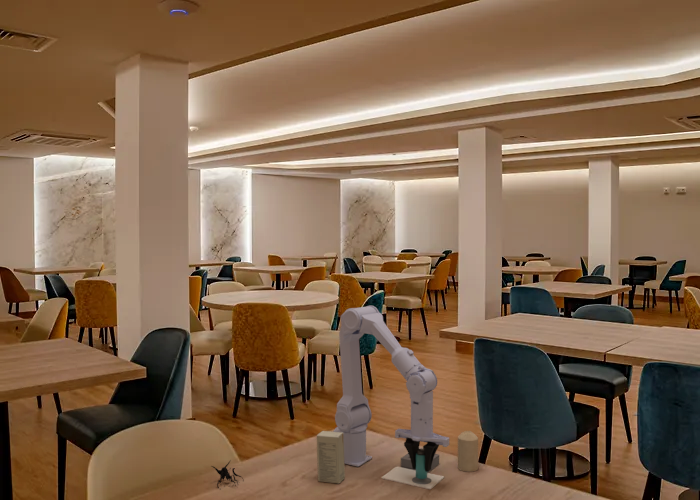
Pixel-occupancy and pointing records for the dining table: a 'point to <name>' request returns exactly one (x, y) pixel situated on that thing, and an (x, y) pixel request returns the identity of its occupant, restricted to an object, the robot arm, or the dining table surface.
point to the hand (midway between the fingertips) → (421, 469)
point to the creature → (226, 474)
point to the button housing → (407, 463)
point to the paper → (412, 478)
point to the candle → (468, 451)
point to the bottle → (420, 464)
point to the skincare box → (330, 456)
